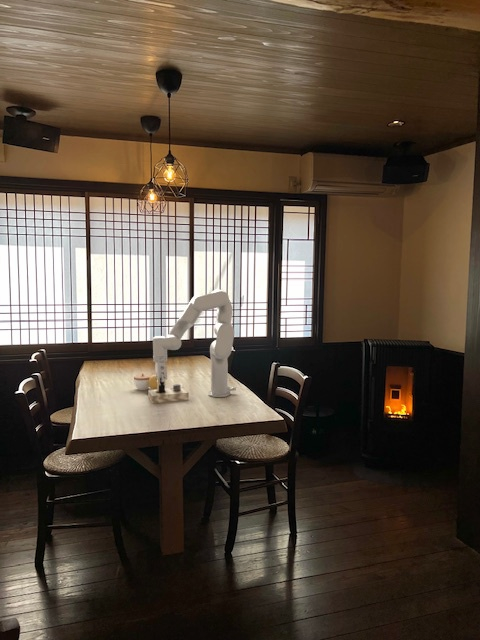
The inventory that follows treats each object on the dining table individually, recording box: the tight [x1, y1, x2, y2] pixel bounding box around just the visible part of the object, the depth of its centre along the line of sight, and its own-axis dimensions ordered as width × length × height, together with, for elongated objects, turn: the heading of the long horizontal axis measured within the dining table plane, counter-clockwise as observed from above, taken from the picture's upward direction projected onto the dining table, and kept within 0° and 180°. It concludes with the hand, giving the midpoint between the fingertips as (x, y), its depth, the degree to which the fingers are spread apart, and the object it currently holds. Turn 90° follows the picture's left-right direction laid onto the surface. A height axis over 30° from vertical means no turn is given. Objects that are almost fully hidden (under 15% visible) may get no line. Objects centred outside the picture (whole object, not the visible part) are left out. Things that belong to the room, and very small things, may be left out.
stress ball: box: [148, 373, 166, 390], centre depth 278 cm, size 10×10×10 cm
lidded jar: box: [133, 372, 152, 391], centre depth 283 cm, size 11×11×9 cm
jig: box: [147, 383, 190, 404], centre depth 262 cm, size 20×13×7 cm, turn 110°
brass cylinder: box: [157, 380, 165, 394], centre depth 261 cm, size 4×4×8 cm
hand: (161, 391), depth 261 cm, fingers closed on brass cylinder, 3 cm apart
